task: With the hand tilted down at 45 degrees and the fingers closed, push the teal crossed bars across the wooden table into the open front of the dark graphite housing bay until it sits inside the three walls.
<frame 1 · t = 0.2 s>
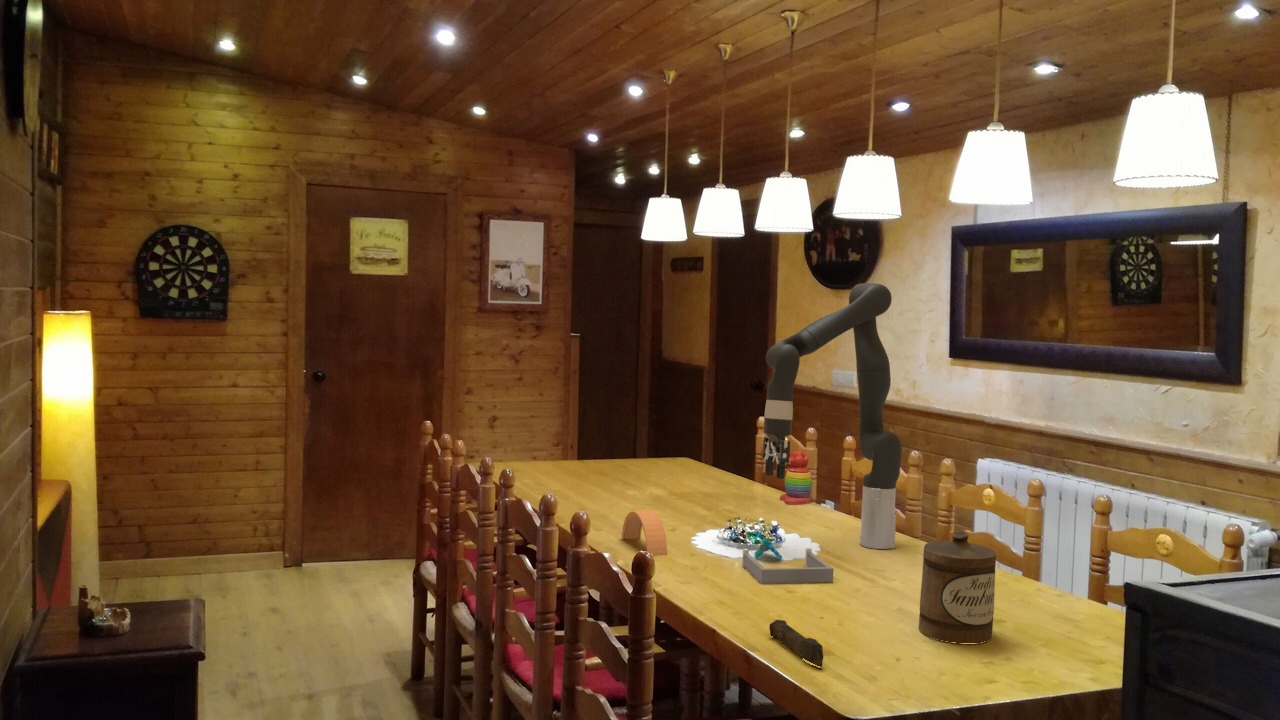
hand: (774, 476, 271), 21 cm above the table, tool pointing down, fingers open, 8 cm apart
wooden container: (955, 634, 211), on the table
housing: (785, 573, 253), on the table
teal crossed bars: (767, 559, 268), on the table
stacking bear: (796, 502, 347), on the table
dark brown rough bar: (800, 654, 196), on the table
arch: (643, 548, 276), on the table
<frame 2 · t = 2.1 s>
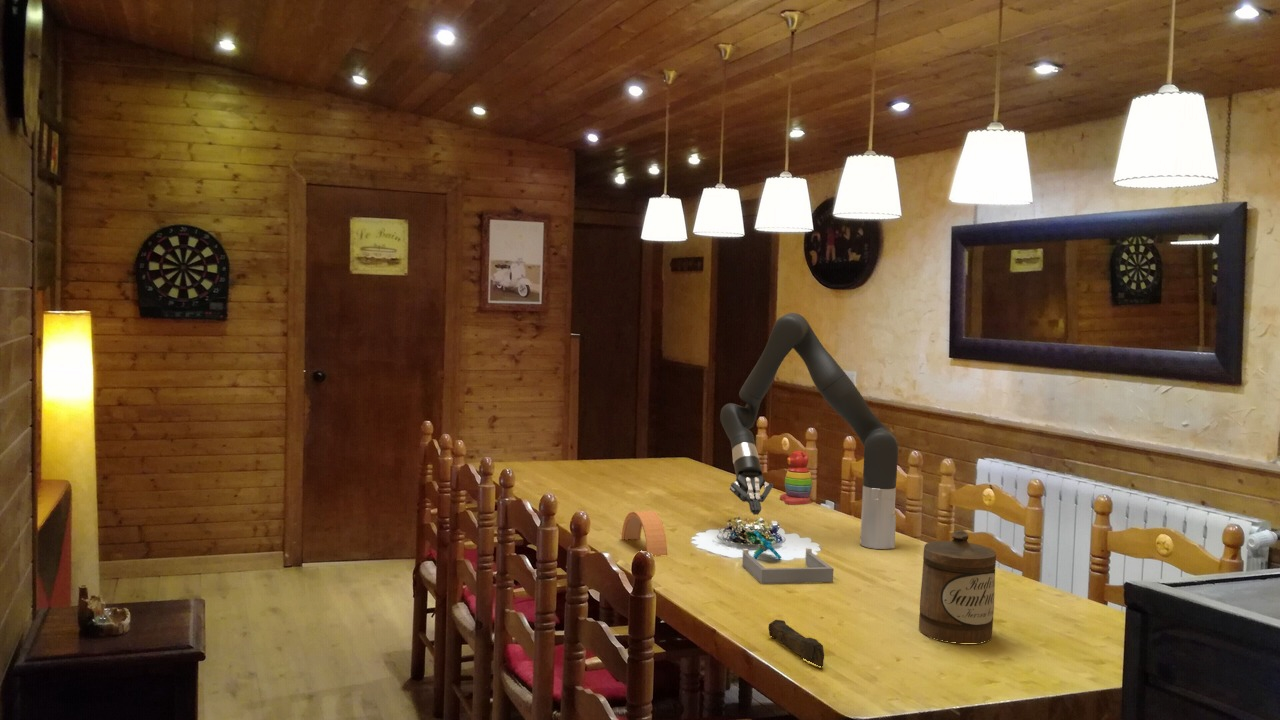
hand: (756, 513, 278), 10 cm above the table, tool tilted 45°, fingers closed
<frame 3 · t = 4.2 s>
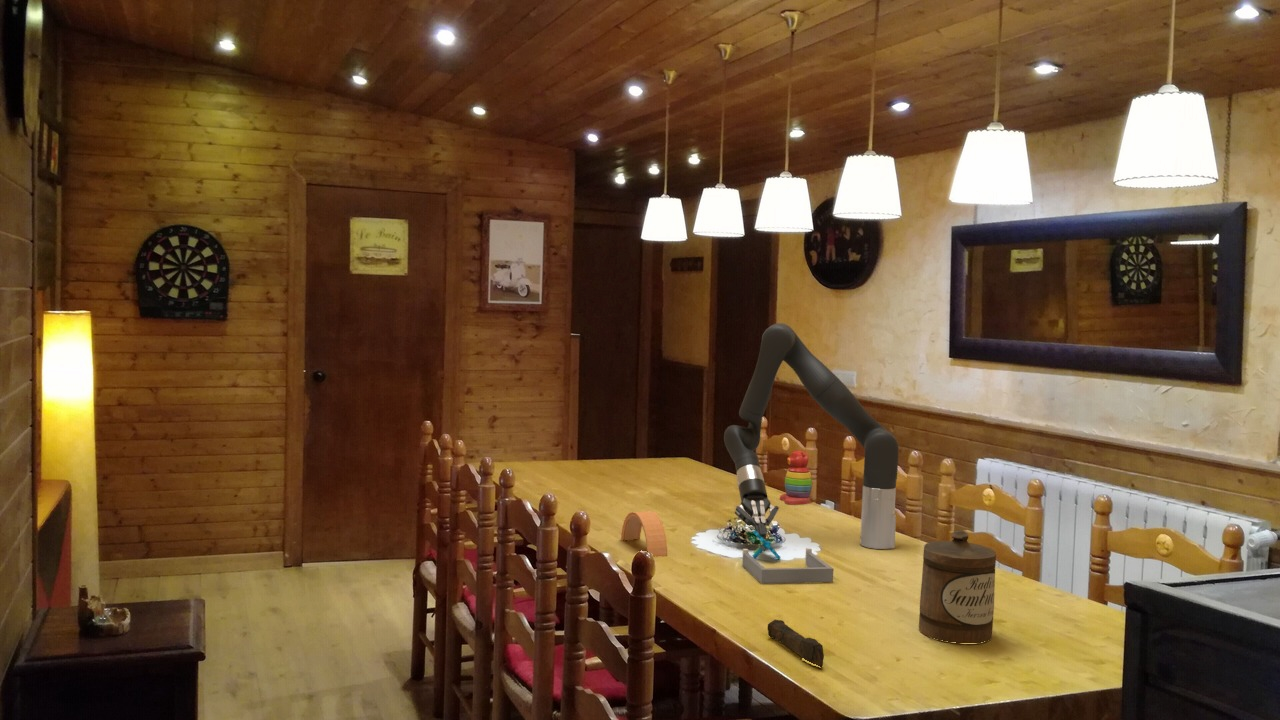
hand: (762, 537, 273), 4 cm above the table, tool tilted 45°, fingers closed
teal crossed bars: (765, 559, 268), on the table, touching gripper
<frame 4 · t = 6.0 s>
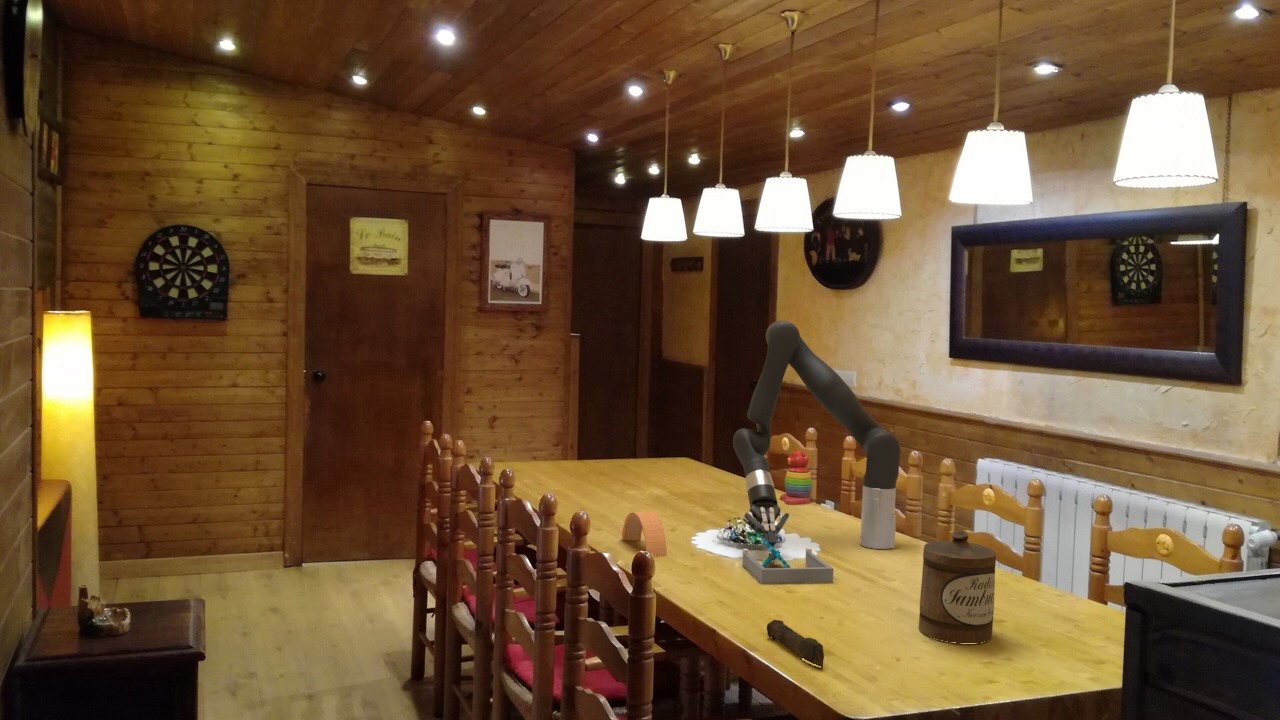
hand: (771, 545, 263), 5 cm above the table, tool tilted 45°, fingers closed
teal crossed bars: (775, 568, 259), on the table, touching gripper
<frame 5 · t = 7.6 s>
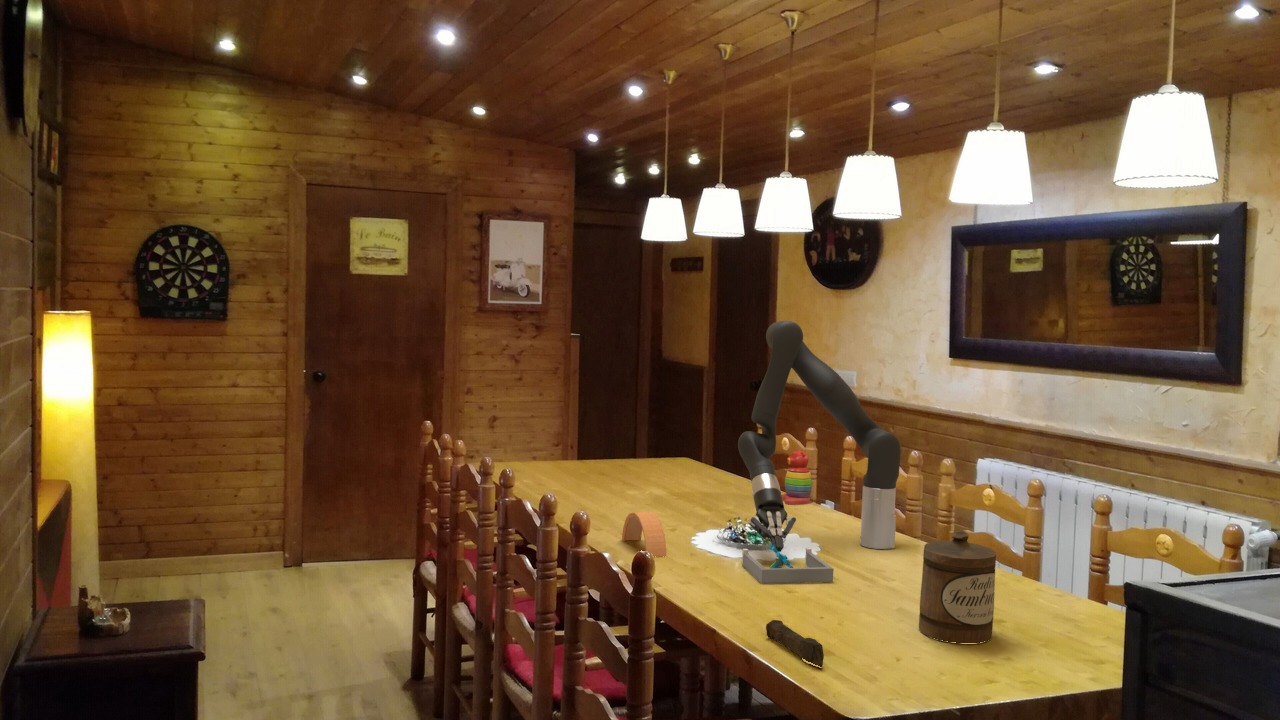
hand: (778, 550, 258), 5 cm above the table, tool tilted 45°, fingers closed
teal crossed bars: (782, 574, 253), on the table, touching gripper
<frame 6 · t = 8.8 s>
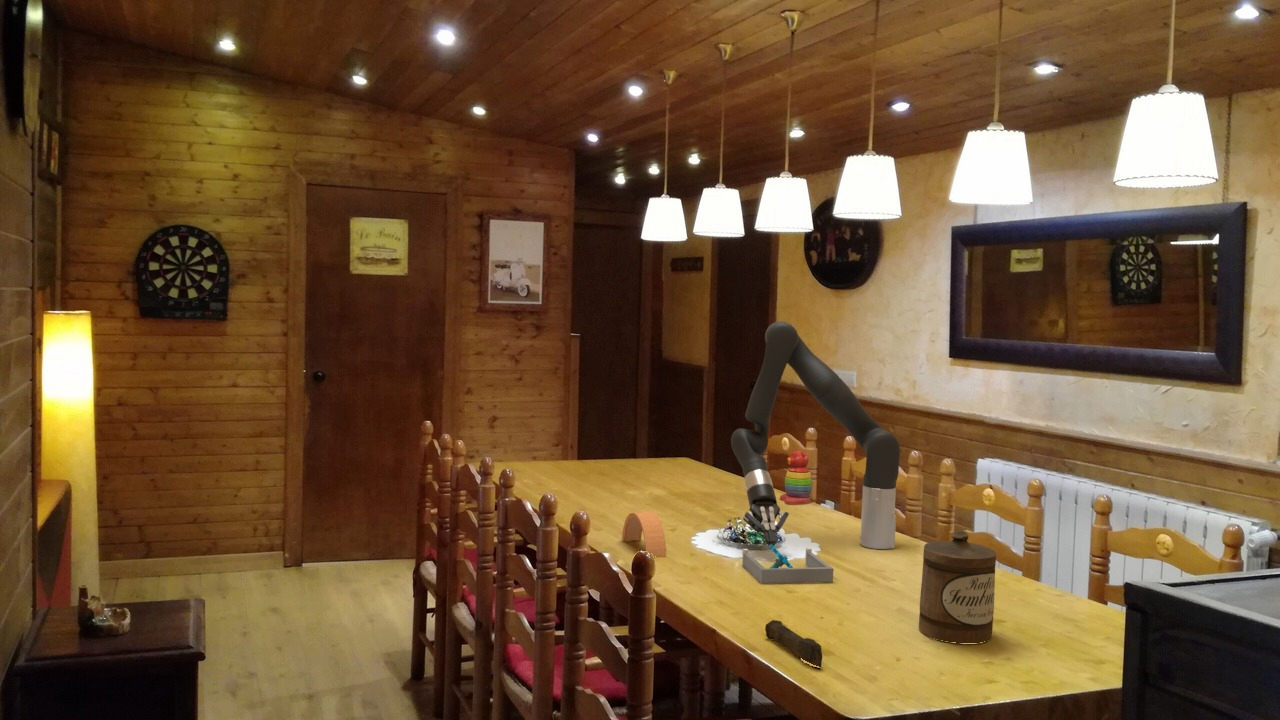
hand: (772, 544, 265), 4 cm above the table, tool tilted 45°, fingers closed
teal crossed bars: (782, 574, 253), on the table
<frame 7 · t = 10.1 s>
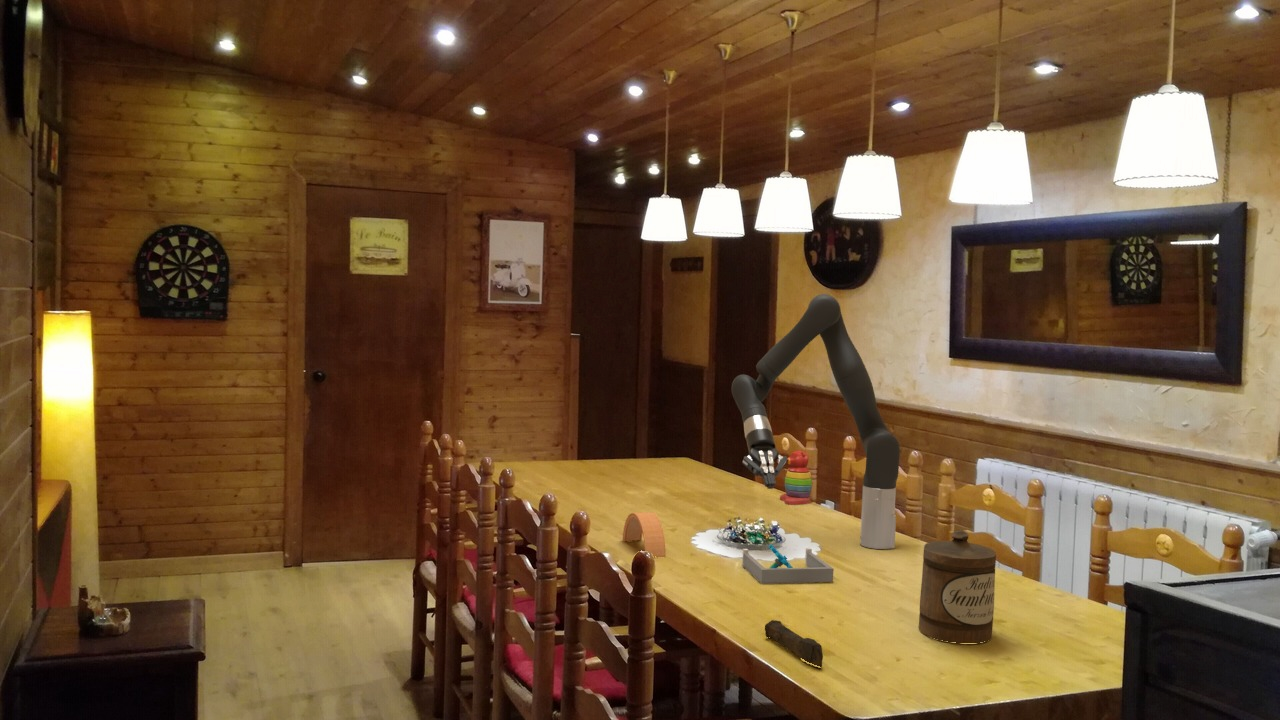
hand: (771, 487, 267), 19 cm above the table, tool tilted 45°, fingers closed
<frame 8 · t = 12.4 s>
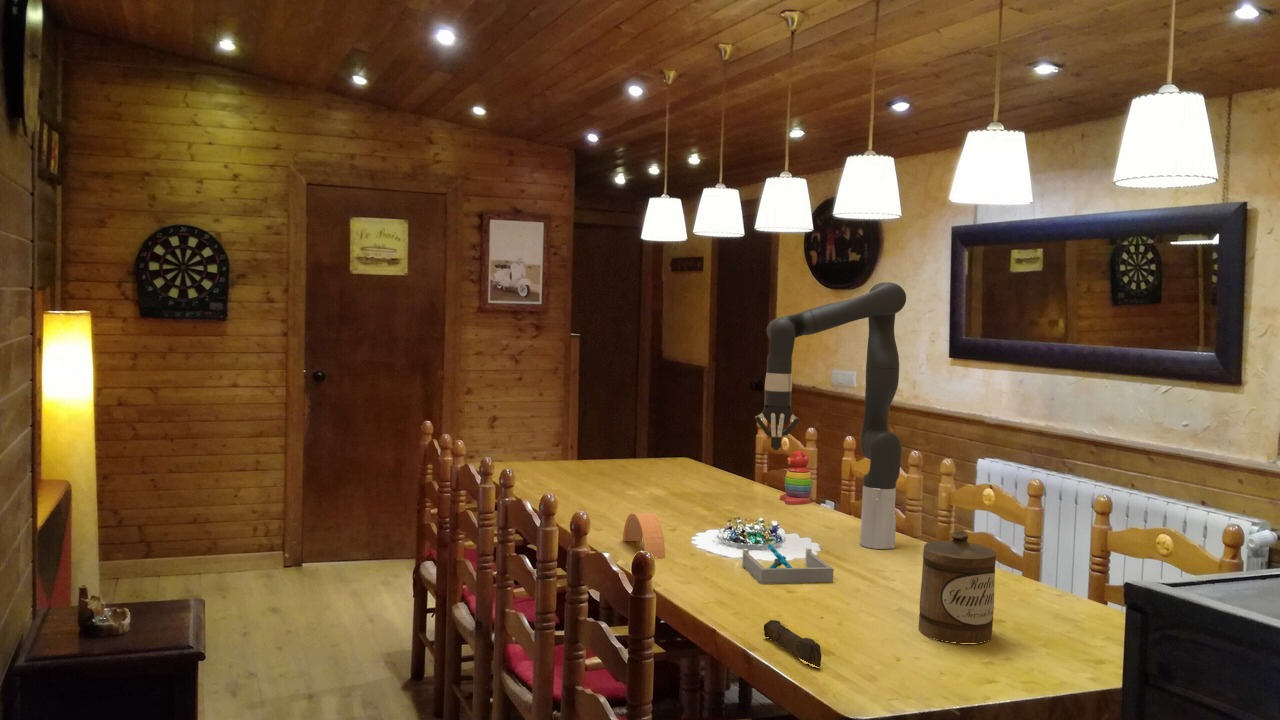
hand: (775, 449, 283), 27 cm above the table, tool pointing down, fingers closed
at the end: teal crossed bars inside the target area on the housing (1.3 cm from its centre), point 0.0 cm above the housing's base; teal crossed bars moved 15.1 cm from its start; teal crossed bars touching table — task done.
